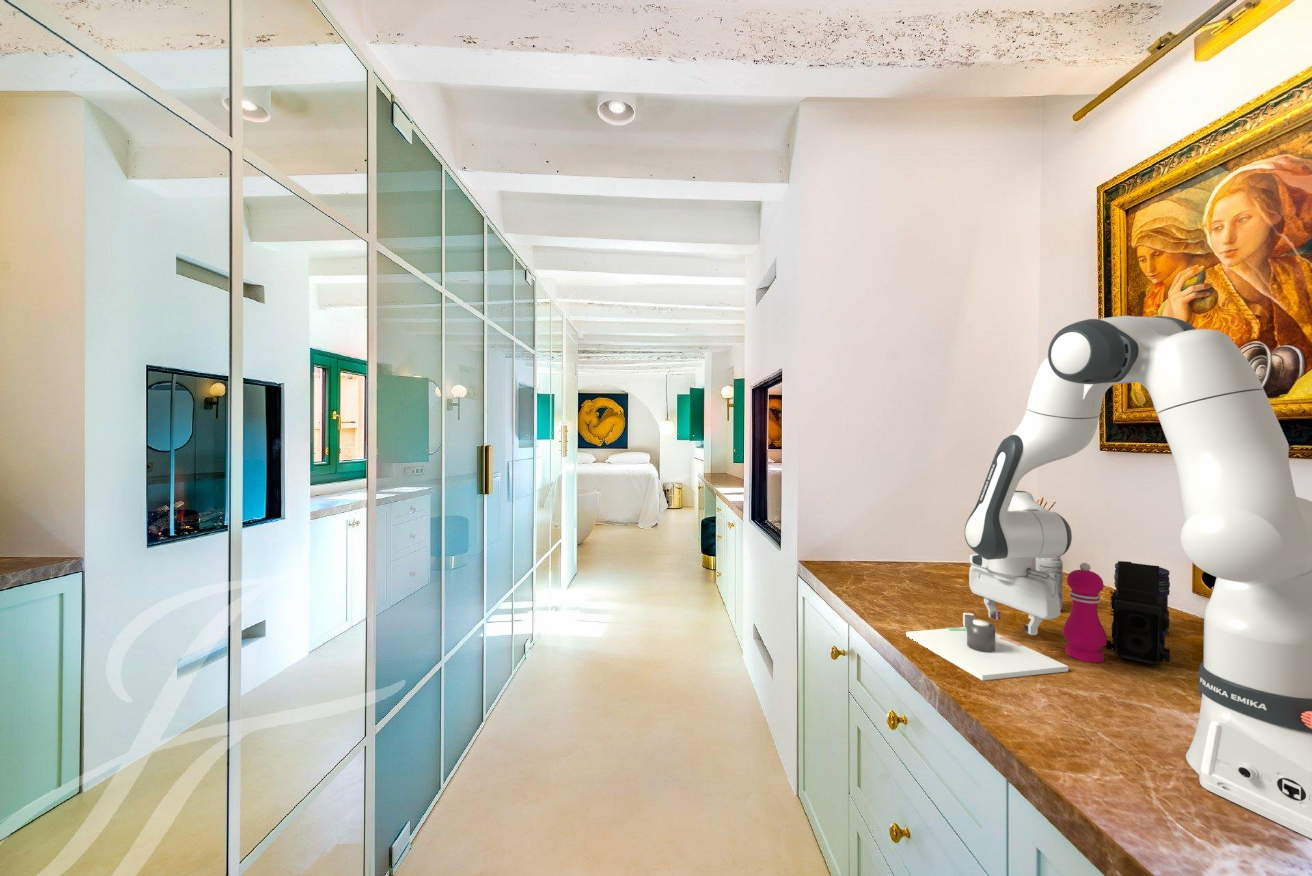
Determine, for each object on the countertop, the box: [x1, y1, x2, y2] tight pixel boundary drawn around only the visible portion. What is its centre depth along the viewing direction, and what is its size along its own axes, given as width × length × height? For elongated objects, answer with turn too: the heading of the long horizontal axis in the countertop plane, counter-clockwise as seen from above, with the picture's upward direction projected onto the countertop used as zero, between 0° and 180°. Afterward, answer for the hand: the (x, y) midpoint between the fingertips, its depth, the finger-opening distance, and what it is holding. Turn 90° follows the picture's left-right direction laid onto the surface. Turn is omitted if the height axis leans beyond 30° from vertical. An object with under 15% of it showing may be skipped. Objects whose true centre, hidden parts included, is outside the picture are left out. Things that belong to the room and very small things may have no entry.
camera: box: [1105, 560, 1171, 666], centre depth 108 cm, size 10×14×20 cm
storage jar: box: [1113, 562, 1171, 637], centre depth 125 cm, size 10×10×15 cm
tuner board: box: [905, 626, 1069, 681], centre depth 112 cm, size 22×20×1 cm
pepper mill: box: [1062, 562, 1108, 664], centre depth 110 cm, size 7×7×20 cm
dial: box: [962, 612, 996, 652], centre depth 115 cm, size 13×5×5 cm, turn 162°
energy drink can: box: [1036, 556, 1064, 610], centre depth 139 cm, size 6×6×15 cm
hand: (1011, 626), depth 114 cm, fingers open, 8 cm apart
